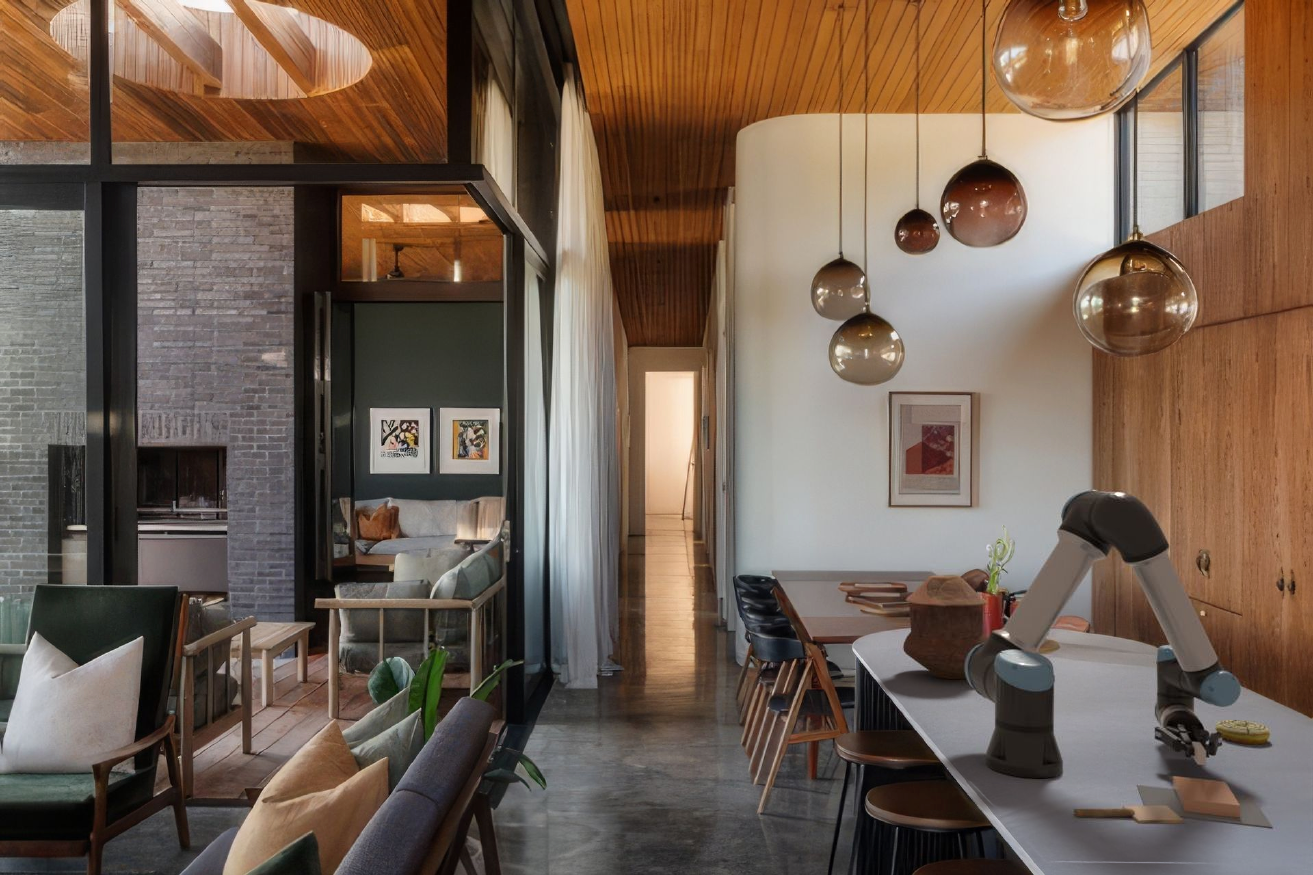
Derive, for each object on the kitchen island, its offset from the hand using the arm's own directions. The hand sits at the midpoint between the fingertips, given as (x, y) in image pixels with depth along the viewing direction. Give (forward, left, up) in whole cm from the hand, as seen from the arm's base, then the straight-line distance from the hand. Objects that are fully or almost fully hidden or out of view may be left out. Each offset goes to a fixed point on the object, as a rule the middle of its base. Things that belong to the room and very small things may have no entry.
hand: (1201, 757), depth 193 cm
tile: (0, 0, -5) cm, 5 cm away
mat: (-1, -8, -7) cm, 11 cm away
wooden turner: (-14, -19, -7) cm, 25 cm away
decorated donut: (+16, +47, -7) cm, 50 cm away
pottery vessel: (-53, +89, -7) cm, 104 cm away
